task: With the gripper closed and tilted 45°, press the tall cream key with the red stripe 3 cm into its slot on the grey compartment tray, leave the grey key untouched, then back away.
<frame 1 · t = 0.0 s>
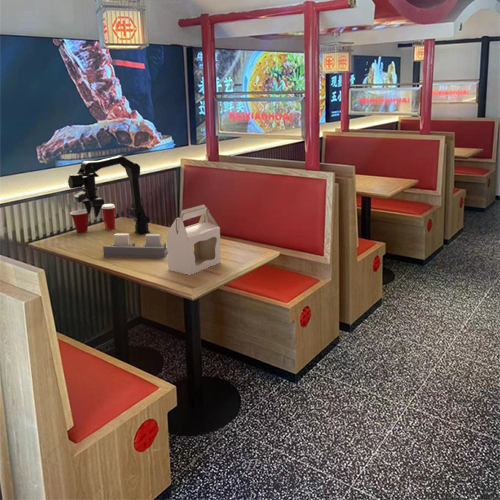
hand: (92, 215, 287), 15 cm above the table, tool pointing down, fingers open, 9 cm apart
grey compartment tray: (137, 253, 272), on the table
grey key: (153, 242, 272), point 5 cm above the table, slide at 0.0 cm
gable box: (195, 266, 254), on the table
cream key: (122, 241, 274), point 5 cm above the table, slide at 0.0 cm
plastic cup: (81, 231, 312), on the table
paper cup: (110, 229, 317), on the table
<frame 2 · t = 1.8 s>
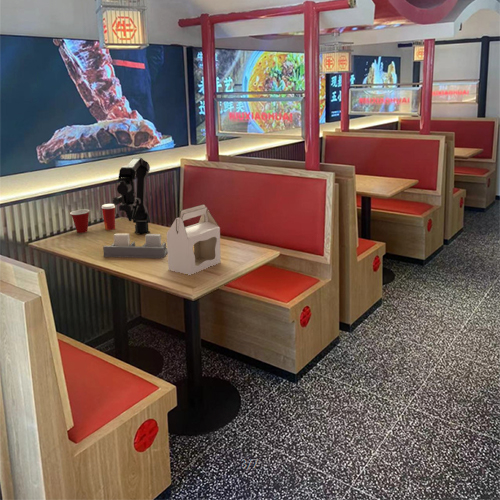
hand: (131, 220, 288), 12 cm above the table, tool pointing down, fingers open, 3 cm apart
nothing on the table moved.
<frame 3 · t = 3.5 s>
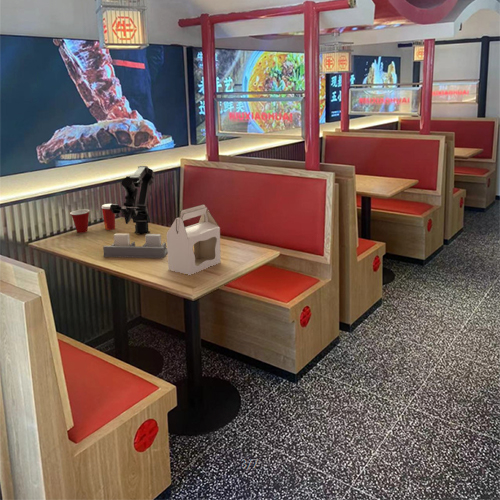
hand: (126, 223, 280), 12 cm above the table, tool tilted 45°, fingers closed
nothing on the table moved.
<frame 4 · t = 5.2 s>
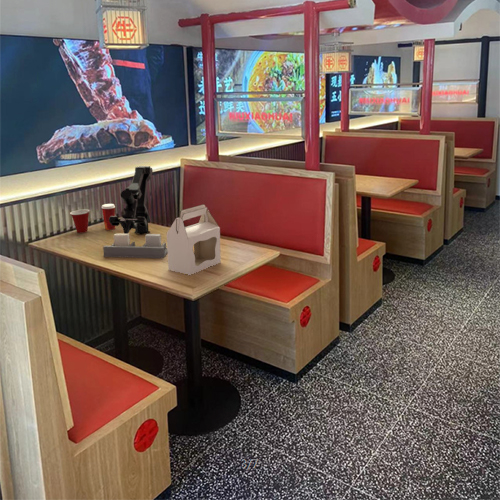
hand: (125, 235, 279), 7 cm above the table, tool tilted 45°, fingers closed
nothing on the table moved.
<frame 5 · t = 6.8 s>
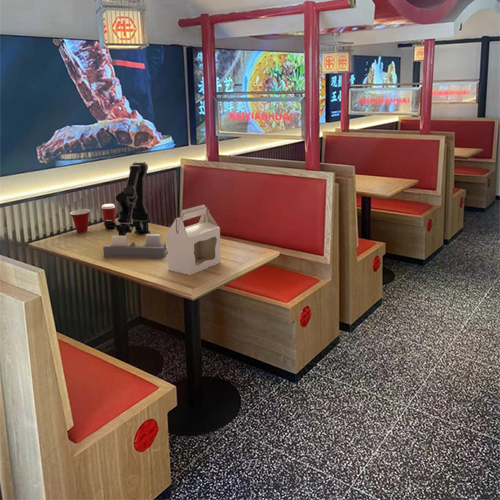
hand: (120, 240, 271), 7 cm above the table, tool tilted 45°, fingers closed, pressing on cream key
cream key: (119, 244, 270), point 5 cm above the table, slide at 3.8 cm, touching gripper
everything else where it was.
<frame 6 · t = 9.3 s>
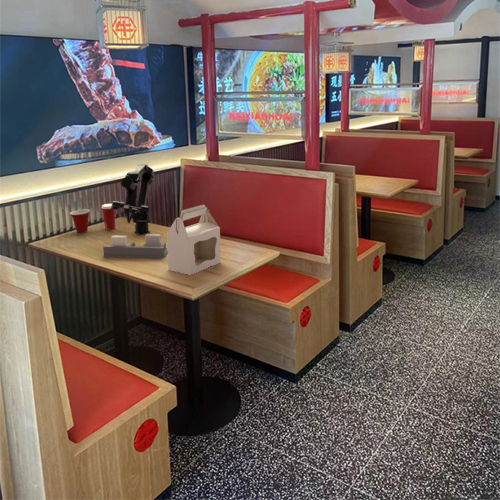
hand: (128, 223, 283), 12 cm above the table, tool tilted 35°, fingers closed
cream key: (119, 244, 270), point 5 cm above the table, slide at 3.8 cm
everything else where it was.
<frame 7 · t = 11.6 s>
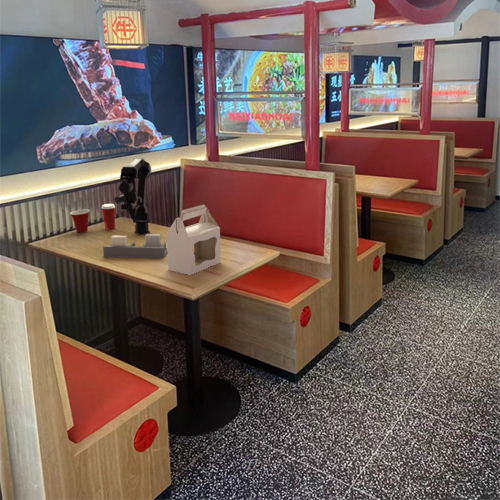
hand: (132, 218, 290), 12 cm above the table, tool pointing down, fingers closed
nothing on the table moved.
at the end: cream key slide at 3.8 cm; grey key slide at 0.0 cm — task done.
